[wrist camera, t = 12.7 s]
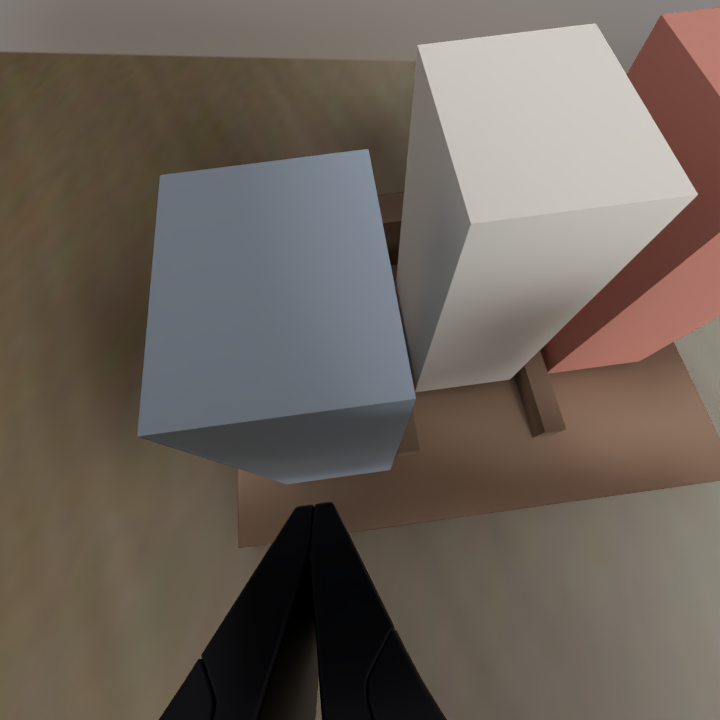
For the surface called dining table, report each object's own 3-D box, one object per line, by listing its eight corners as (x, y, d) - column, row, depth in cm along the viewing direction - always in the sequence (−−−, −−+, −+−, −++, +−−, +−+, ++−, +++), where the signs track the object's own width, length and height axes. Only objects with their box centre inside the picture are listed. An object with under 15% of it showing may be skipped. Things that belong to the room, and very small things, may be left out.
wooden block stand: (706, 481, 16) (824, 469, 12) (250, 544, 16) (205, 556, 11) (595, 231, 21) (650, 160, 17) (244, 277, 20) (211, 216, 16)
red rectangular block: (639, 361, 16) (1002, 154, 7) (545, 374, 16) (781, 181, 7) (596, 262, 18) (835, -7, 9) (512, 273, 18) (661, 14, 9)
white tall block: (509, 379, 16) (698, 194, 7) (414, 392, 16) (470, 224, 7) (480, 278, 18) (595, 23, 9) (395, 289, 18) (417, 44, 8)
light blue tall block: (390, 470, 15) (415, 398, 6) (287, 484, 15) (137, 436, 5) (371, 351, 17) (368, 148, 7) (280, 364, 17) (160, 175, 7)
